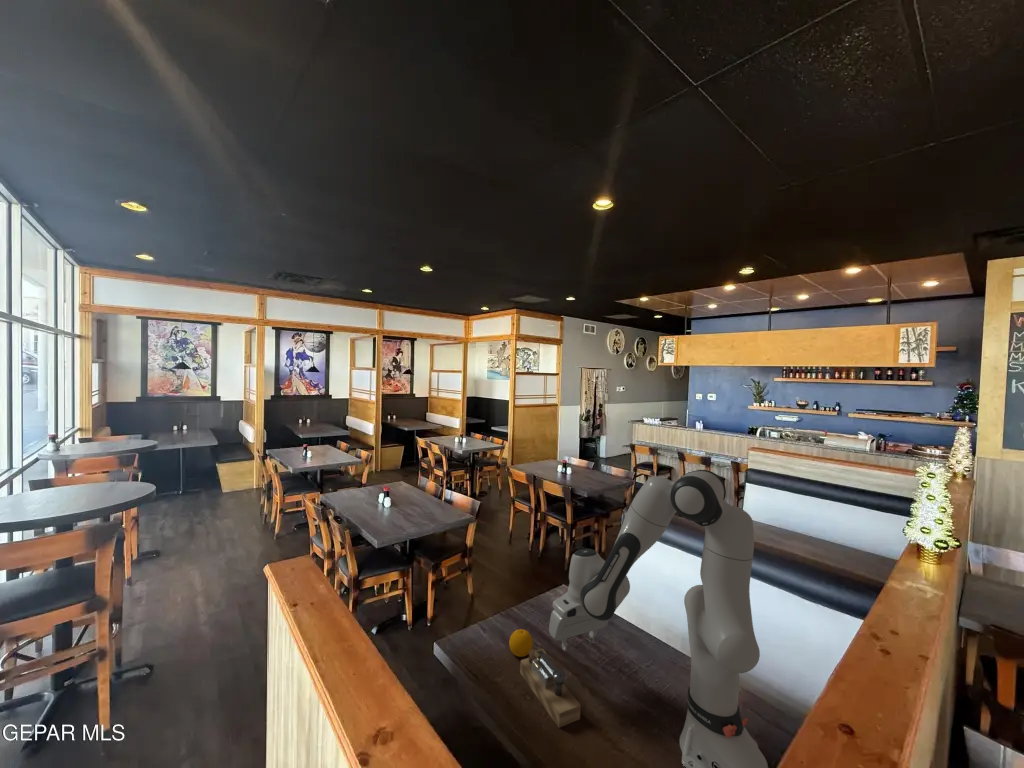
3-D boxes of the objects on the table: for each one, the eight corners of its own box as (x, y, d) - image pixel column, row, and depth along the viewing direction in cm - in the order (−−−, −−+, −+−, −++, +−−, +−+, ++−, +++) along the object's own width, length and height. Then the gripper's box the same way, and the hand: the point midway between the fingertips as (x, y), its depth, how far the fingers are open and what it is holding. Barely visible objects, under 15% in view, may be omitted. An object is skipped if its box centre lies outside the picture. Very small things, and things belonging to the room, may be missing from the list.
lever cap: (559, 683, 121) (560, 673, 121) (545, 688, 119) (545, 678, 119) (545, 665, 128) (545, 655, 128) (531, 669, 126) (531, 660, 126)
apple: (505, 657, 136) (506, 635, 136) (512, 642, 144) (513, 621, 144) (528, 663, 134) (530, 641, 134) (534, 648, 142) (535, 627, 141)
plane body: (580, 718, 114) (581, 691, 113) (558, 728, 110) (560, 700, 110) (539, 666, 133) (540, 643, 133) (520, 672, 130) (521, 648, 130)
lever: (567, 682, 116) (567, 676, 116) (557, 686, 115) (557, 680, 115) (543, 652, 128) (543, 647, 128) (533, 655, 126) (533, 650, 126)
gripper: (601, 590, 134) (597, 631, 135) (548, 602, 125) (544, 647, 125) (614, 600, 129) (610, 643, 129) (559, 614, 119) (556, 660, 120)
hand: (577, 645), depth 127 cm, fingers open, 8 cm apart
